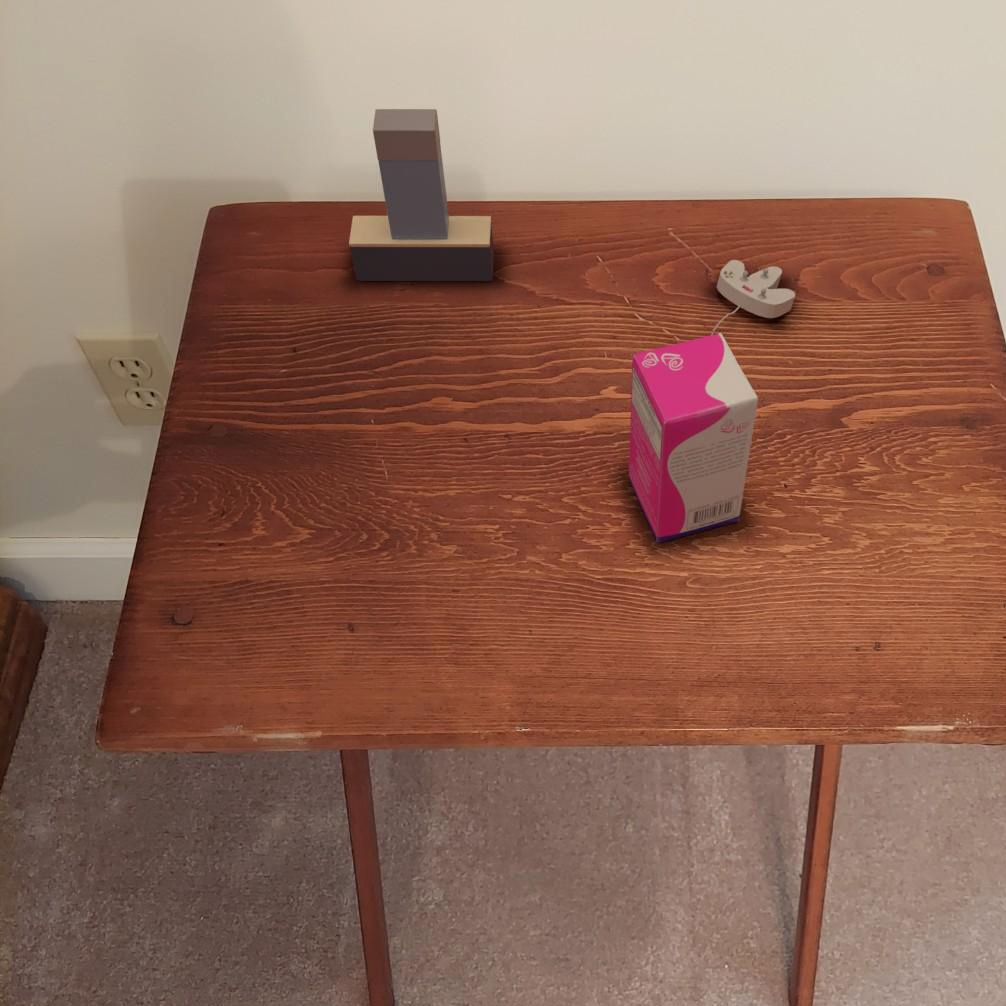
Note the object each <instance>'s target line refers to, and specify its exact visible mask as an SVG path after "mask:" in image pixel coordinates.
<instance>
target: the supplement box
mask: <svg viewBox="0 0 1006 1006" xmlns="http://www.w3.org/2000/svg"><path fill="white" fill-rule="evenodd" d="M630 391H631V393H630V425H629V426H630V428H629V453H628V454H629V455H628V456H629V457H628V479H629V482H630V484H631V486H632V489H633V491H634V494H635V496H636V498H637V500H638V502H639V505H640V507H641V510H642V512H643V514H644V516H645V519H646V521H647V523H648V525H649V527H650V530H651V532H652V534H653V536H654V539H655V541H656V542H657V543H664V542H667V541H668V542H669V541H670V540H675V539H679V538H682V537H686V536H689V535H694V534H697V533H700V532H703V531H708V530H711V529H715V528H718V527H722V526H725V525H729V524H732V523H733V524H734V523H737V522H739V521H740V516H741V512H742V511H741V510H742V503H743V496H744V491H745V486H746V479H747V472H748V467H749V460H750V453H751V447H752V441H753V433H754V427H755V421H756V416H757V410H758V404H759V402H758V401H759V397H758V395H757V394H756V392H755V390H754V389H753V387H752V385H751V383H750V382H749V380H748V378H747V376H746V374H745V373H744V371H743V369H742V368H741V366H740V364H739V363H738V360H737V359H736V357H735V355H734V353H733V352H732V350H731V348H730V346H729V344H728V342H727V340H726V339H725V337H724V335H723V333H722V332H718V333H714V334H713V335H711V334H710V335H707V336H702V337H698V338H695V339H690V340H687V341H682V342H678V343H676V344H670V345H667V346H662V347H659V348H658V347H657V348H654V349H650V350H646V351H642V352H638V353H634V354H633V355H632V359H631V390H630Z"/></svg>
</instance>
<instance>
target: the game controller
mask: <svg viewBox="0 0 1006 1006" xmlns="http://www.w3.org/2000/svg"><path fill="white" fill-rule="evenodd" d="M745 269H746V268H745V264H744V263H743V262H742V261H740V260H738V259H731V260H729V261H728V263H726V264H725V265H724V266H723V267H722V268H721V270H720V273H719V275H718V280H717V284H716V289H717V291H718V292H719V293H720V294H721V295H722V296H723V297H724V298H725V299H726V300H728V301H729V302H731V303H732V304H734V305H736V306H737V307H736V308H735V309H734V310H733V311H732V312H731V313H730V312H728V313H726V315H724V316H723V317H722V318H721V319H720V321H718V323H717V324H716V325H715V326H714V328H713V329H712V332H711V334H710V335H715V331H716V329H717V328H718V326H720V324H721V323H722V322H723V321H724V319H726V318H727V317H728V316H729V315H733V314H735V313H736V312H737V311H738V310H739V309H740V308H741V309H743V310H745V311H747V312H749V313H751V314H754V315H756V316H759V317H761V318H762V317H763V318H767V319H775V318H778V317H779V318H780V317H781V316H783V315H785V314H787V313H788V312H790V311H792V307H793V304H794V301H795V298H796V293H795V291H794V290H792V289H790V288H778V287H779V284H780V280H781V277H782V274H783V270H782V268H780V267H779V266H776V265H775V266H773V265H772V266H768V267H765V268H763V269H761V270H759V271H756V272H754V273H752V274H750V275H749V271H747V270H745ZM748 275H749V276H748Z"/></svg>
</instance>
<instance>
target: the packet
mask: <svg viewBox="0 0 1006 1006" xmlns="http://www.w3.org/2000/svg"><path fill="white" fill-rule="evenodd" d="M374 111H375V112H374V119H373V126H372V133H373V139H374V146H375V151H376V157H377V161H378V167H379V174H380V178H381V185H382V191H383V196H384V202H385V208H386V214H387V215H386V216H388V220H389V226H390V232H391V238H392V239H448V227H449V216H450V215H449V206H448V197H447V188H446V180H445V171H444V163H443V154H442V145H441V135H440V134H441V133H440V126H439V125H440V124H439V118H438V117H439V116H438V110H437V108H375V110H374Z"/></svg>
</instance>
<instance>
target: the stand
mask: <svg viewBox="0 0 1006 1006" xmlns="http://www.w3.org/2000/svg"><path fill="white" fill-rule="evenodd" d="M348 246H349V250H350V255H351V260H352V264H353V270H354V275H355V279H356V281H357V282H493V279H494V278H493V277H494V260H495V249H494V248H495V247H494V237H493V222H492V216H491V215H449V227H448V239H392V238H391V232H390V226H389V220H388V215H352V221H351V226H350V233H349V241H348Z"/></svg>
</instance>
